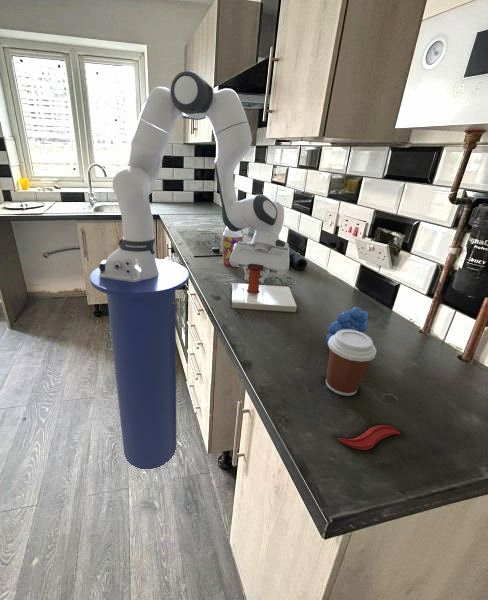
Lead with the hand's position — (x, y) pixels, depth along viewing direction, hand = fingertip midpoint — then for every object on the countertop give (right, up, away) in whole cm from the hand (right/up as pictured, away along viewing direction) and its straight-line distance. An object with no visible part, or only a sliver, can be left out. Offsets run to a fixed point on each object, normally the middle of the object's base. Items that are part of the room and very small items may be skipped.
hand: (253, 280), depth 107 cm
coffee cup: (+14, -25, -38) cm, 47 cm away
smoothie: (-6, +8, +32) cm, 33 cm away
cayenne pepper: (+13, -31, -50) cm, 61 cm away
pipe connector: (+20, +9, +36) cm, 42 cm away
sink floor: (+3, -6, +1) cm, 7 cm away
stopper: (0, -5, +3) cm, 6 cm away
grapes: (+19, -19, -24) cm, 36 cm away
